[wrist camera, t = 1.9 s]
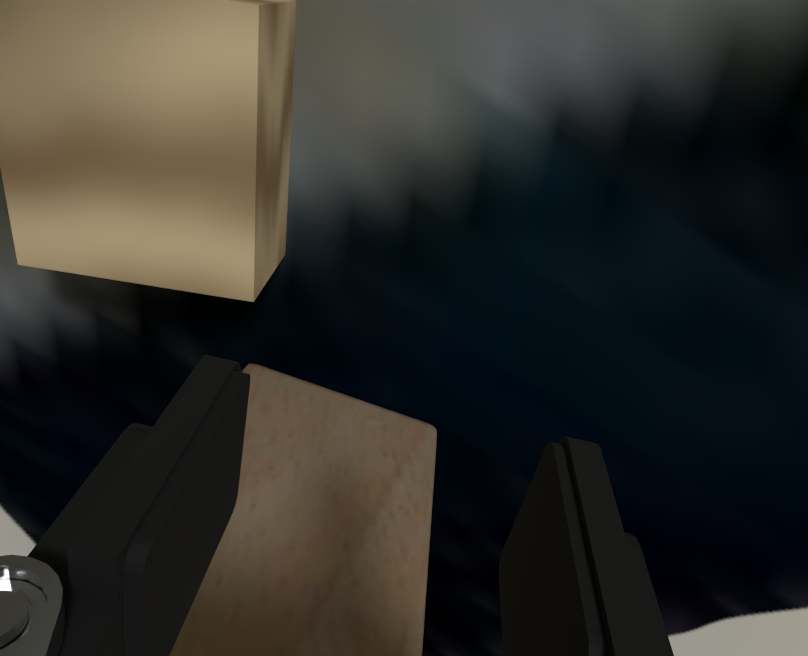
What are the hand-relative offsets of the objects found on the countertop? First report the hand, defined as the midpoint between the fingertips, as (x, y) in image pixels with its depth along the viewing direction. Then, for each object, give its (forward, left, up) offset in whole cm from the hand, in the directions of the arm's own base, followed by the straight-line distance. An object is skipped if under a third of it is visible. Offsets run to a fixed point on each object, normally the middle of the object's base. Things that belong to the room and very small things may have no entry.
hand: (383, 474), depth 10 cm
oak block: (0, -10, -18) cm, 21 cm away
